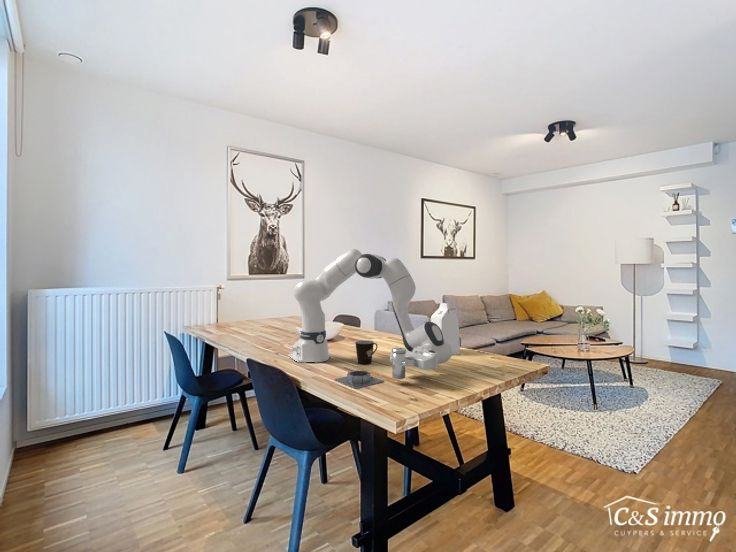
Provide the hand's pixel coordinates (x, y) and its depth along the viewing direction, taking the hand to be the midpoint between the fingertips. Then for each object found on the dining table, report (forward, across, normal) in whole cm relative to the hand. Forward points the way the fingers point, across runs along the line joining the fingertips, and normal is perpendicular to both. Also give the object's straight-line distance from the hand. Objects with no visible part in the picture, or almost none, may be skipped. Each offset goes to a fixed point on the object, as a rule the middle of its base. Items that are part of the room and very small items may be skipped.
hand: (397, 362), depth 150 cm
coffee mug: (-12, -32, +9) cm, 36 cm away
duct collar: (+9, -12, +9) cm, 18 cm away
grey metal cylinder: (-1, 0, +6) cm, 6 cm away
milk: (-58, -25, +9) cm, 64 cm away
